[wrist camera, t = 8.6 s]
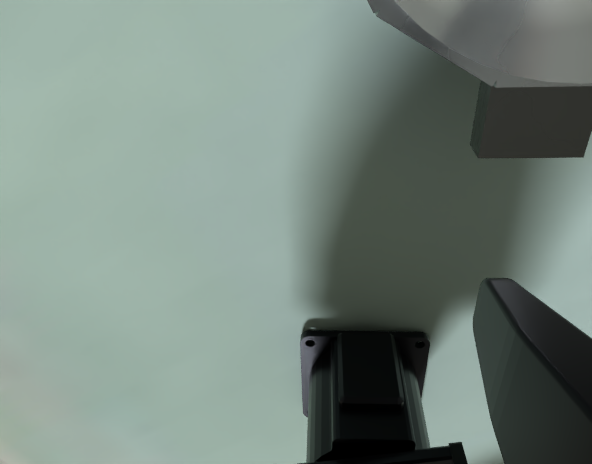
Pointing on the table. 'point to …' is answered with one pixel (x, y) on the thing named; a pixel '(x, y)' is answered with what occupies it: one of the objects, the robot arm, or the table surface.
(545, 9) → the lid
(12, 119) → the table surface
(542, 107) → the pot
